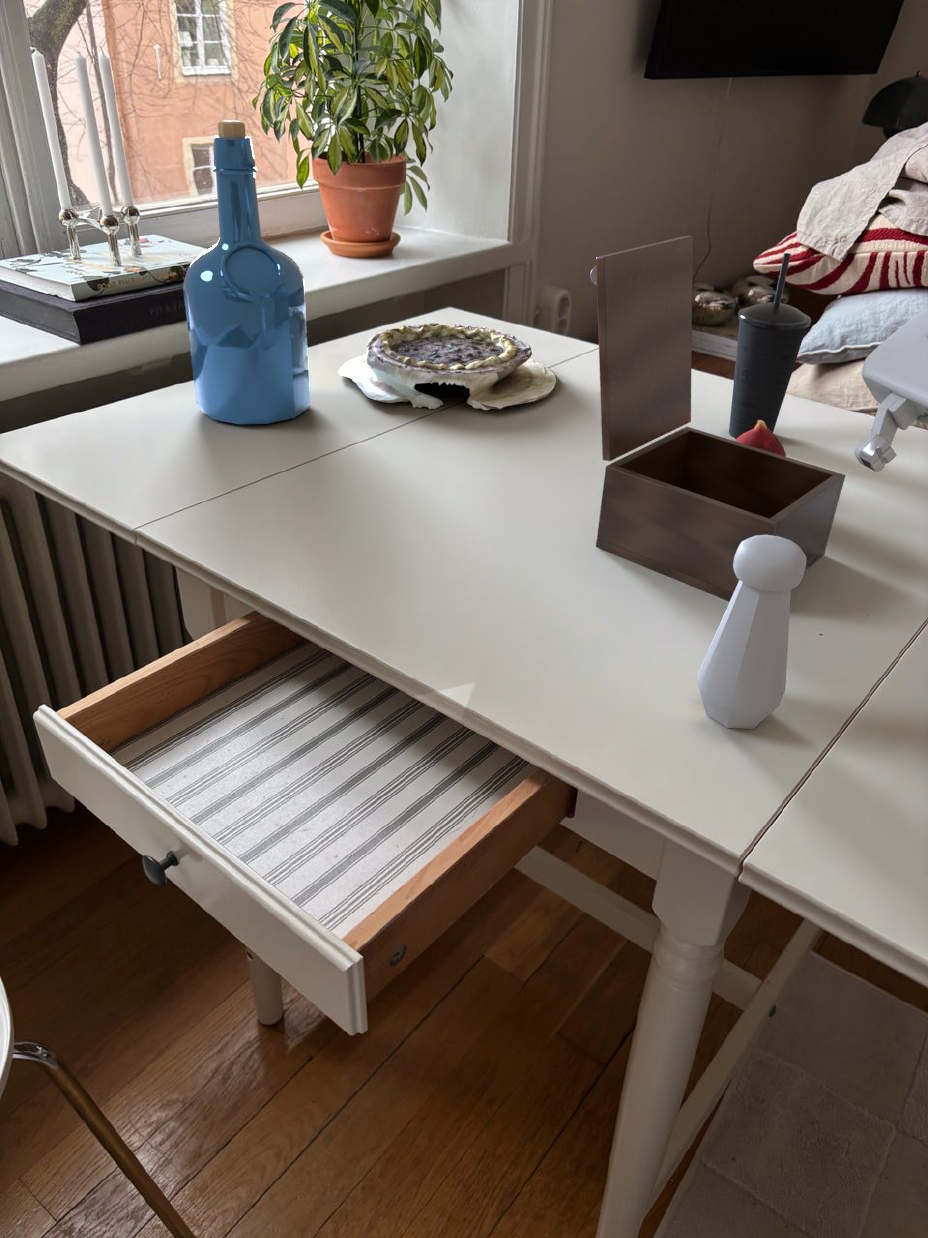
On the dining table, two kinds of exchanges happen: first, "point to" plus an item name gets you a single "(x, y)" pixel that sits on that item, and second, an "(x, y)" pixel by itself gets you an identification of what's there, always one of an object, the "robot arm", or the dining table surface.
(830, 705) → the dining table surface
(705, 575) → the chest
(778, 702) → the salt shaker
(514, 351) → the pie
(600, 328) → the chest lid
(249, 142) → the wine bottle
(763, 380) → the drinking cup
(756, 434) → the onion
